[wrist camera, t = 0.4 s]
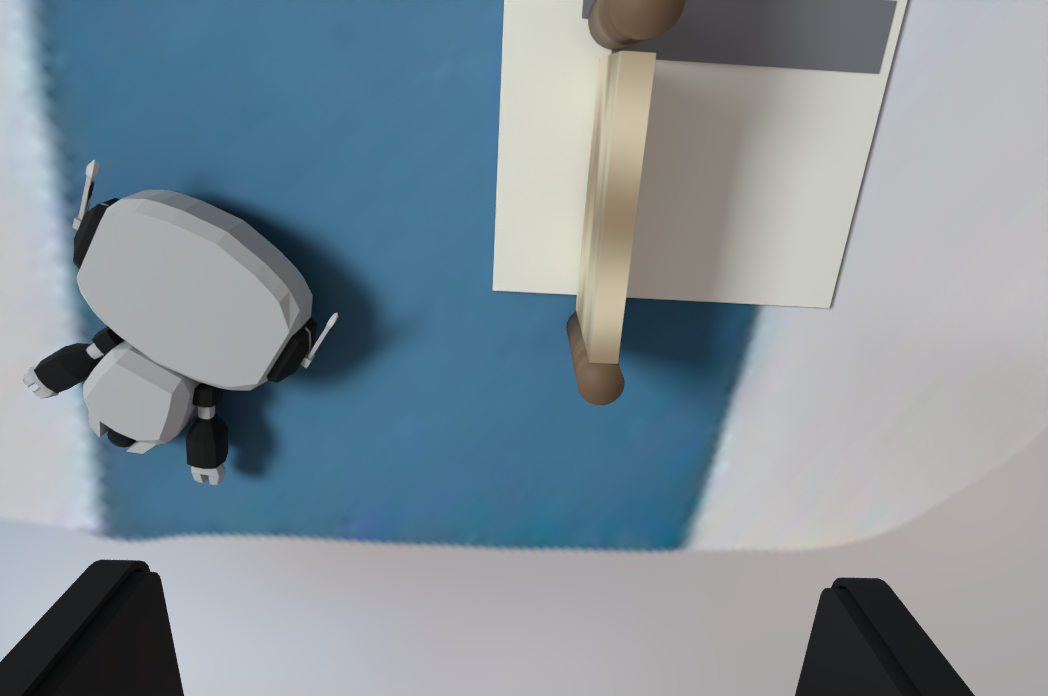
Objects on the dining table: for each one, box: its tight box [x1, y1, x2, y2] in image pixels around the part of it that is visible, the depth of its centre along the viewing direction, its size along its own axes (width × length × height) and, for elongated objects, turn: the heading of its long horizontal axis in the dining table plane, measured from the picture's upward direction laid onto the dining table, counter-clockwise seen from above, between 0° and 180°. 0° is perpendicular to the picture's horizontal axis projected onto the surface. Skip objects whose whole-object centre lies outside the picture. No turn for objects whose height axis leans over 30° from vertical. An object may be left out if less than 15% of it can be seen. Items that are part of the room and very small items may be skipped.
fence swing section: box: [567, 51, 656, 405], centre depth 28 cm, size 14×2×7 cm, turn 177°
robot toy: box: [22, 160, 338, 485], centre depth 33 cm, size 12×4×15 cm
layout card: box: [493, 0, 907, 308], centre depth 29 cm, size 28×18×1 cm, turn 177°
